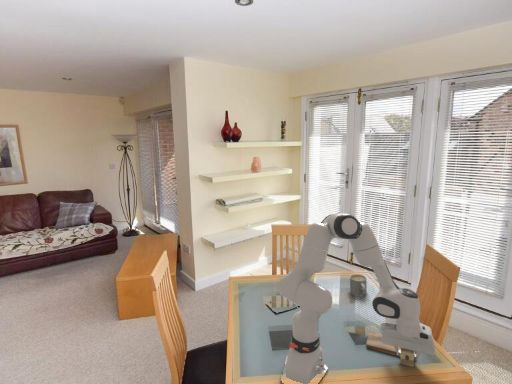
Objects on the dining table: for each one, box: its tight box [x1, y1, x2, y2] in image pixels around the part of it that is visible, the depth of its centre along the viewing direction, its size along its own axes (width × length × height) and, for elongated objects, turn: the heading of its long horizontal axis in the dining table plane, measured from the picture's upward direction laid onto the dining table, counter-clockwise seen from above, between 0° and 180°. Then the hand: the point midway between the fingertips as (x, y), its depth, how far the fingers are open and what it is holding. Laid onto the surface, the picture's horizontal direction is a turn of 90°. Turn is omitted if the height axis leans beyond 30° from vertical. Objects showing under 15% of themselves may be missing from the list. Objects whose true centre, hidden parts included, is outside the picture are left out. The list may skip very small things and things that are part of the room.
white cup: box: [384, 317, 396, 324], centre depth 149 cm, size 8×8×10 cm
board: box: [365, 330, 416, 357], centre depth 134 cm, size 11×20×2 cm, turn 62°
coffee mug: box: [349, 273, 368, 297], centre depth 184 cm, size 13×10×10 cm
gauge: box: [399, 348, 415, 368], centre depth 128 cm, size 16×5×6 cm, turn 152°
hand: (407, 356), depth 124 cm, fingers closed on gauge, 5 cm apart
